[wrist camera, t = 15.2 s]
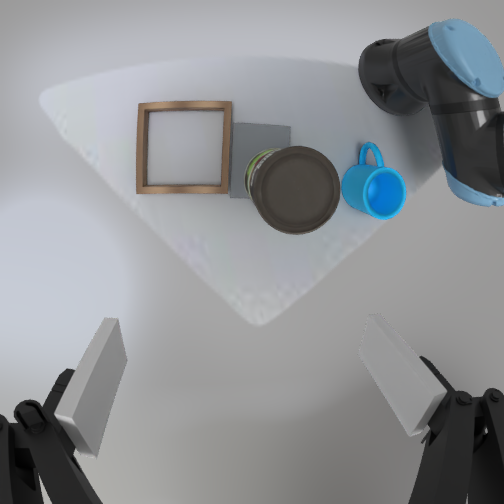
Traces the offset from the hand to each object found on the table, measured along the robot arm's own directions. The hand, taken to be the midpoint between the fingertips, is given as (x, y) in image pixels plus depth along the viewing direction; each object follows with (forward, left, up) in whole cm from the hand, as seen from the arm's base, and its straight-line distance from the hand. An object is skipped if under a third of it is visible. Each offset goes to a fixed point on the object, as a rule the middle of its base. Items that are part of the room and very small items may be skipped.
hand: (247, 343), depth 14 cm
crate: (+7, -10, -35) cm, 37 cm away
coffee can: (-8, -5, -34) cm, 36 cm away
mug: (-23, -7, -35) cm, 42 cm away
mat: (-5, -8, -35) cm, 36 cm away
